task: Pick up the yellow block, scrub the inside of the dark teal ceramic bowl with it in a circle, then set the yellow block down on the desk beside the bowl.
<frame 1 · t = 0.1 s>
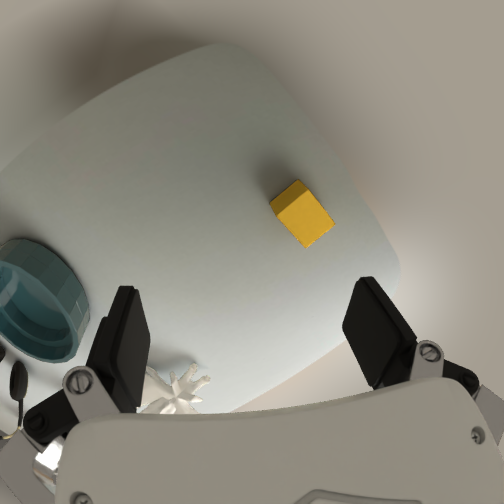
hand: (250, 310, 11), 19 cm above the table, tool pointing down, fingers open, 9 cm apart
yellow block: (297, 207, 30), on the table
bowl: (39, 291, 31), on the table
figurine: (173, 378, 43), on the table
headphones: (11, 355, 37), on the table
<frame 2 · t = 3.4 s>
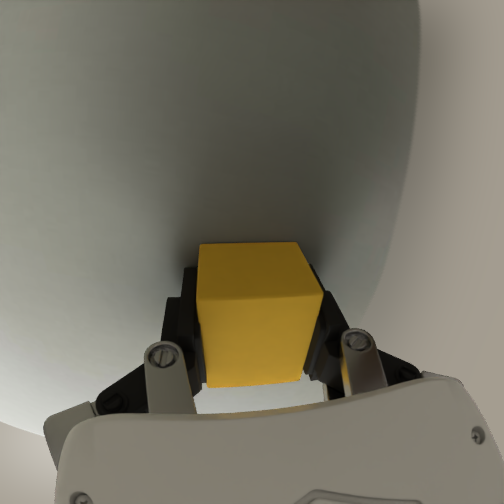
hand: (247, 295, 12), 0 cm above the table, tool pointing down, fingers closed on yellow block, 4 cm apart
yellow block: (247, 290, 13), on the table, touching gripper
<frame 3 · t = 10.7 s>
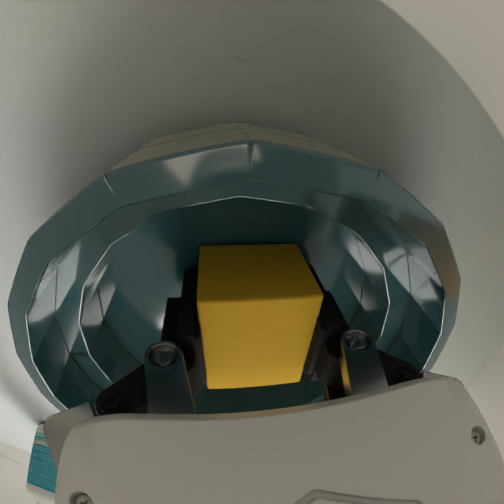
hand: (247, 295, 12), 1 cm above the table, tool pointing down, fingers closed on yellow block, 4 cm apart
yellow block: (247, 292, 13), point 1 cm above the table, touching gripper
pill bottle: (64, 433, 23), on the table
bowl: (232, 304, 14), on the table
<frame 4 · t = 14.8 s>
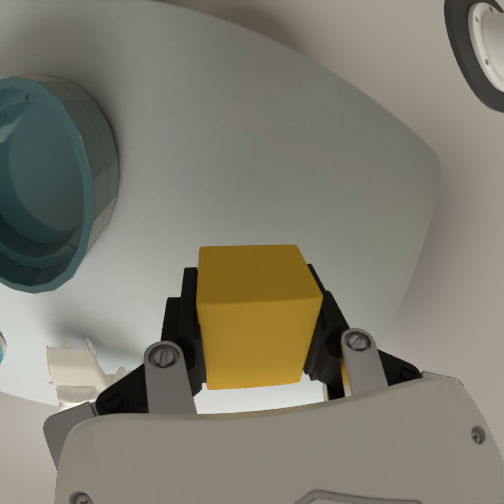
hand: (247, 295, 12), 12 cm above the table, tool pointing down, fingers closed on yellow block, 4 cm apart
yellow block: (247, 293, 13), point 12 cm above the table, touching gripper
bowl: (38, 173, 19), on the table
figurine: (103, 363, 32), on the table
when the fingers open (0 cm above the table, at t = 17.9 s): yellow block stays where it is, on the table.
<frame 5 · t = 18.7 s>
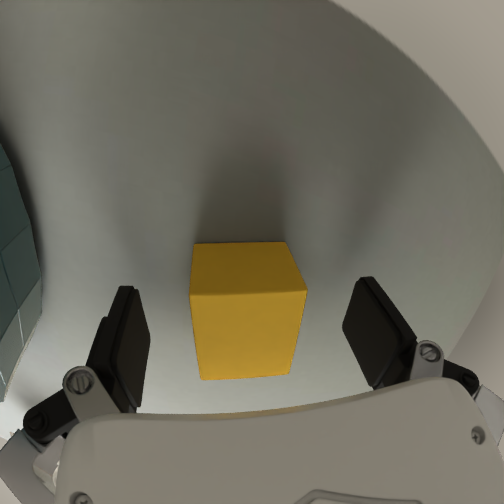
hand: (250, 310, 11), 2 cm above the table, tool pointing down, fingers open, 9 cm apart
yellow block: (238, 288, 13), on the table
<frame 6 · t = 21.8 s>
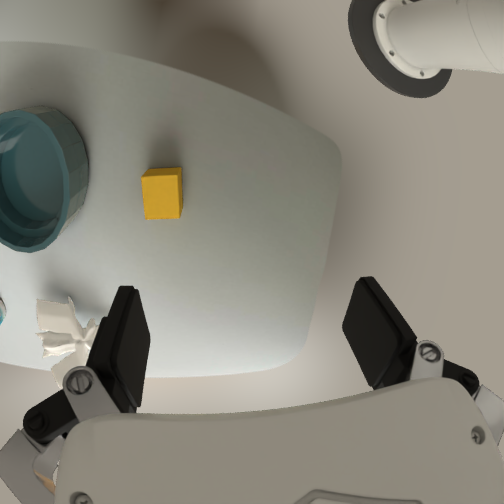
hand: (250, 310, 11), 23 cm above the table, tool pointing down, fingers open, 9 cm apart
yellow block: (165, 188, 31), on the table
bowl: (37, 171, 27), on the table
figurine: (81, 321, 40), on the table
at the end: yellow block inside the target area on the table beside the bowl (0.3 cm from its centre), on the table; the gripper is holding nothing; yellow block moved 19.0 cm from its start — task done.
